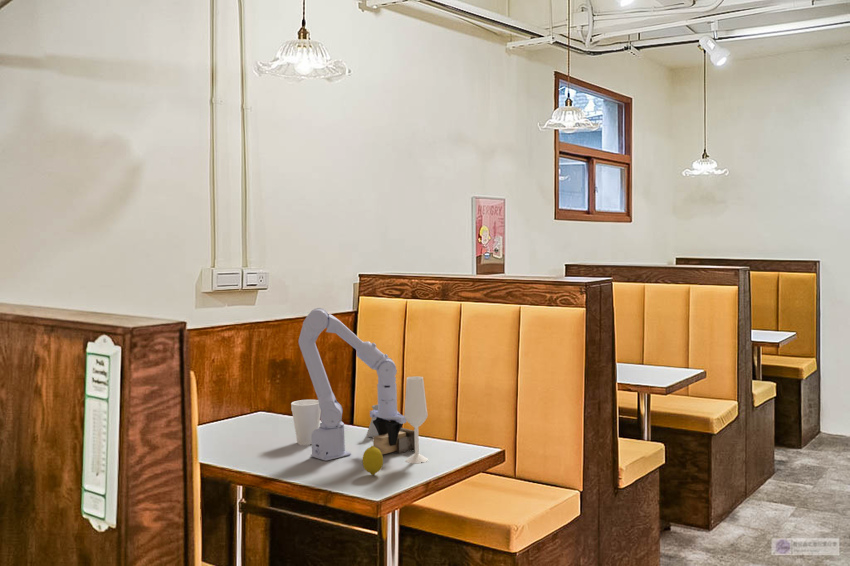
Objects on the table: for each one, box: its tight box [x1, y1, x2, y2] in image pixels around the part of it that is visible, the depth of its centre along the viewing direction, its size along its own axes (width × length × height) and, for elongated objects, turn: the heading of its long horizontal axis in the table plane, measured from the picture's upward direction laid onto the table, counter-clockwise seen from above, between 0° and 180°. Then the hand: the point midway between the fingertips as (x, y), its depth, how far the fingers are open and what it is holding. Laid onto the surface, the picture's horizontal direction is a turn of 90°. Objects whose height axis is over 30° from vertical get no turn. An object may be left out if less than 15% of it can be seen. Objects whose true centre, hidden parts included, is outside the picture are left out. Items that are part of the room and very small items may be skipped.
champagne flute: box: [403, 375, 429, 464], centre depth 224 cm, size 7×7×24 cm
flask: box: [366, 404, 379, 438], centre depth 256 cm, size 7×7×10 cm
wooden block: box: [372, 431, 406, 455], centre depth 234 cm, size 10×4×5 cm, turn 133°
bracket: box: [393, 427, 415, 454], centre depth 237 cm, size 6×10×6 cm, turn 43°
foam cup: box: [290, 399, 321, 446], centre depth 249 cm, size 10×9×13 cm
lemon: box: [362, 445, 384, 476], centre depth 211 cm, size 6×6×8 cm
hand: (388, 443), depth 234 cm, fingers closed on wooden block, 3 cm apart
